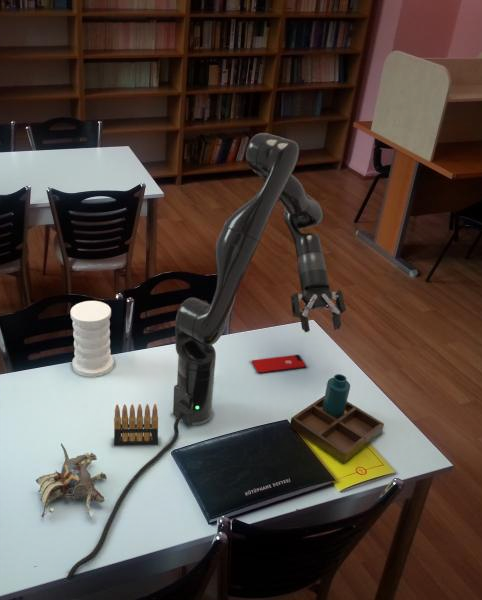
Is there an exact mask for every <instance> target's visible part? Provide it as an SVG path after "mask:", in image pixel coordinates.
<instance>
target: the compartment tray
mask: <svg viewBox="0 0 482 600" xmlns="http://www.w3.org/2000/svg"><path fill="white" fill-rule="evenodd" d="M324 398H325V395H323V396H322V397H320V398H319V399H317V400H316V401H314V402H313V403H311V404H309V405H308V406H306V407H305V408H303V409H302V410H301V411H299V412H297V413H296V414H295V415H293V416H291V418H290V423H289V428H290V429H292V430H294V431H295V432H296V433H298V434H299V435H301V436H302V437H304V438H305V439H307V440H308V441H310V442H311V443H312V444H314V445H315V446H317V447H318V448H320V449H321V450H323V451H324V452H325V453H327V454H329V455H330V456H332V457H333V458H334V459H336V460H337V461H339V462H340V463H342V464H345V463H346V462H347V461H349V460H350V459H351V458H353V456H355V455H356V454H357V453H359V452H360V451H361V450H362V449H363V448H365V447H366V446H367V445H369V444H370V443H371V442H372V441H373V440H375V439H376V438H377V437H379V436H380V435H382V433H383V429H384V427H385V426H384V425H385V423H384V422H382V421H381V420H379V419H378V418H375V417H374V416H372V414H369V413H368V412H366V411H364V410H363V409H361V408H359V407H358V406H356V405H354V404H353V403H351V402H350V401H348V400H347V404H346V408H345V413H344V415H343V416H341V417H340V418H339V419H336V418H335V417H333V416H331V415H330V414H328V413H327V412H325V411H324V410H322V408H323V403H324Z"/></svg>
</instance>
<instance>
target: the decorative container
mask: <svg viewBox="0 0 482 600" xmlns="http://www.w3.org/2000/svg"><path fill="white" fill-rule="evenodd" d="M69 311H70V319H71V320H72V323H71V324H72V328H73V332H72V336H73V339H74V340H73V347H74V351H73V354H74V357H73V358H72V370H73V371H74V372H75V373H77V374H78V375H79V376H82V377H87V378H88V377H89V378H95V377H101V376H104V375H106V374H108V373H109V372H110V371H112V370H113V368H114V365H115V364H114V363H115V362H114V357H113V356H112V354H111V337H110V336H111V330H110V325H111V321H110V318H111V316H112V308H111V307H110V306H109V304H107V303H105V302H104V301H103V302H102V301H100V300H99V301H98V300H85V301H82V302H79V303H75V305H73V306H72V307H71V309H70V310H69Z"/></svg>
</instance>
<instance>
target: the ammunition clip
mask: <svg viewBox="0 0 482 600" xmlns="http://www.w3.org/2000/svg"><path fill="white" fill-rule="evenodd" d="M120 410H121V411H120ZM151 410H152V413H151ZM136 411H137V412H136ZM121 412H122V413H121ZM113 417H114V418H113V446H116V447H117V446H119V447H122V446H123V447H126V446H127V447H128V446H159V414H158V406H157V403H154V404H153V406H152V409H150V405H149V404H148V403H146V405H145V408H144V416H143V408H142V405H141V404H138V406H137V409H135V405H134V404H133V403H132V404H131V405H130V408H129V415H128V407H127V405H126V404H123V406H122V409H120V407H119V404H116V405H115V408H114V416H113Z"/></svg>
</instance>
